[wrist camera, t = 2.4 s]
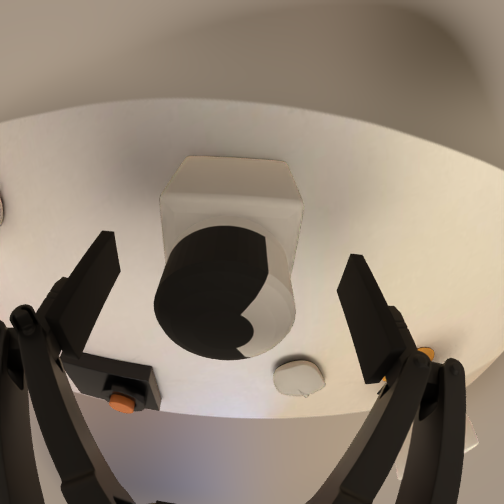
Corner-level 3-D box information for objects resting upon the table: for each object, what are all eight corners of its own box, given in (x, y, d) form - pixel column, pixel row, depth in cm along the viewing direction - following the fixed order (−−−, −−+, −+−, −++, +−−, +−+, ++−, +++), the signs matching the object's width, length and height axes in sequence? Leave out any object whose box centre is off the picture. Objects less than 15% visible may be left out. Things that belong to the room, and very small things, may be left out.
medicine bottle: (188, 240, 23) (153, 368, 13) (185, 154, 19) (120, 254, 9) (276, 245, 23) (293, 376, 14) (288, 160, 19) (331, 266, 9)
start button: (115, 401, 34) (112, 410, 33) (108, 390, 32) (105, 400, 31) (137, 406, 35) (135, 415, 33) (132, 396, 33) (130, 405, 31)
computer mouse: (289, 393, 38) (291, 410, 36) (263, 361, 33) (264, 382, 30) (328, 382, 37) (331, 400, 34) (310, 348, 32) (314, 369, 29)
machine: (84, 381, 39) (78, 401, 35) (63, 347, 33) (54, 369, 30) (161, 398, 40) (158, 419, 36) (151, 366, 34) (146, 391, 31)
